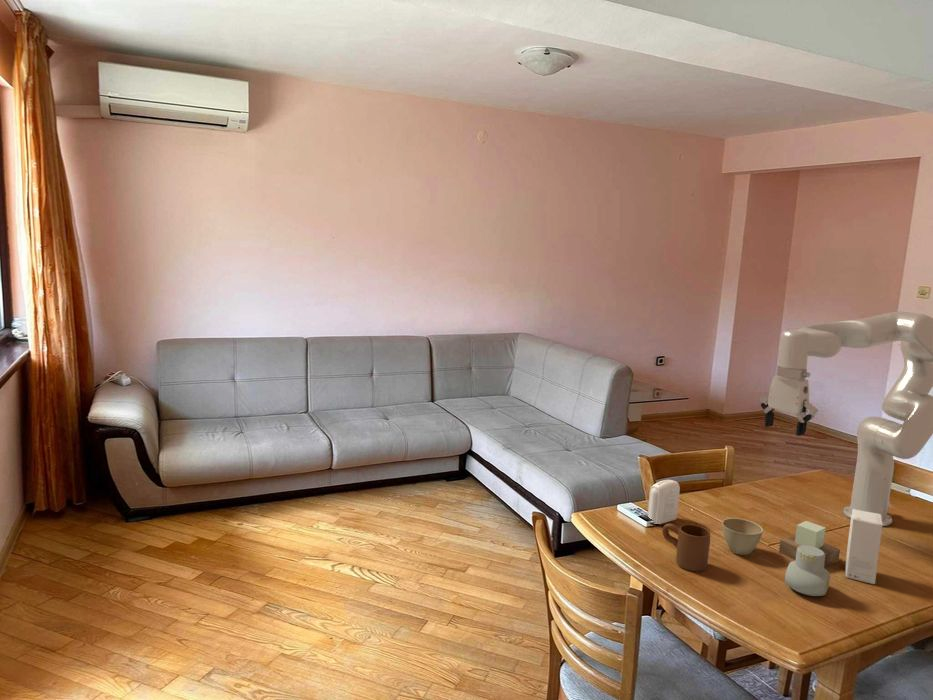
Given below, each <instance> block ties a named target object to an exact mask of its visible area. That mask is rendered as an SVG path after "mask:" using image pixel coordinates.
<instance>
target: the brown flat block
mask: <svg viewBox="0 0 933 700" xmlns="http://www.w3.org/2000/svg"><path fill="white" fill-rule="evenodd" d="M795 537H796V535H793V536H790V537H786V538H783V539H780V540H779V548H778V553H780V554H781V555H783V556H786V557H787V558H790V559H792V560H793V561H795V560H796V553H797V548H798V547H799V546H802V545H799V544H797V543H795ZM818 549H820V550H822V551H823V552H824V553H825V561H824V567H829V566H831V565H832V564H837V563H839V559H840V552H841V548H838V547H836V546H834V545H831V544H829V543H827V542H825V541H824V544H823V546H821V547H820V548H818Z"/></svg>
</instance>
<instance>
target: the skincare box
mask: <svg viewBox="0 0 933 700" xmlns="http://www.w3.org/2000/svg"><path fill="white" fill-rule="evenodd" d="M883 527H884V526H883V524H882V516H881V514H877V513H871V512H866V511H861V510H856V509H852V515H851V518H850V524H849V530H848V531H849V532H848V539H847V547H846V557H845V577H846V578H848V579H850V580H853V581H855V580H856V581H859V582H863V583H867V584H871V585H876V578H877V572H878V571H877V570H878V562H879V554H880V547H881V539H882V533H883V532H882V531H883Z"/></svg>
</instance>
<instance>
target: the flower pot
mask: <svg viewBox="0 0 933 700" xmlns="http://www.w3.org/2000/svg"><path fill="white" fill-rule="evenodd" d="M721 527H722V533H723V534H722V535H723V537H724V540H725V543H726V546H727V548H728V549H729V550H730V552H731V553H733V554H736V555H738V556H739V555H740V556H748V555H750V554H751V553H752V552H753V551H754V550H755V548H756V547H757V545H758V544H759V542H760V540H761V538H762V535H763V531H764V529H763V527H762V526H761V525H759V524H758V523H756V522H755V521H751V520H748V519H744V518H736V517H734V518H733V517H728V518H724V519H723V520H722V521H721Z"/></svg>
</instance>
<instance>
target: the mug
mask: <svg viewBox="0 0 933 700" xmlns="http://www.w3.org/2000/svg"><path fill="white" fill-rule="evenodd" d="M669 530H671V531H672V532H673V533H675V534H676V535H677V538H676V537H674V536H672V535H670V533H669ZM661 532H662V535H663V538H664V539H665V541H667V542H668V543H669V544H672V545H673V546H674V547H675V548H676V557H675V561H676V564H677V565H678V566H679V567H680V568H681V569H683V568H684V569H683V570H686V571H689V570H690V571H689V572H694V571H696V572H698V573H699V571H700V572H703V571H705V570H706V569H707V568H708V563H709V557H710V555H709V554H710V545H711V532H710V530H709V529H707V528H705V527H703V526H701V525H697V524H693V523H692V524H690V523H688V524H682V525H680V527H678V526H676V525H675V524H673V523H665V524H664V526H663V527H662V531H661Z"/></svg>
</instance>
